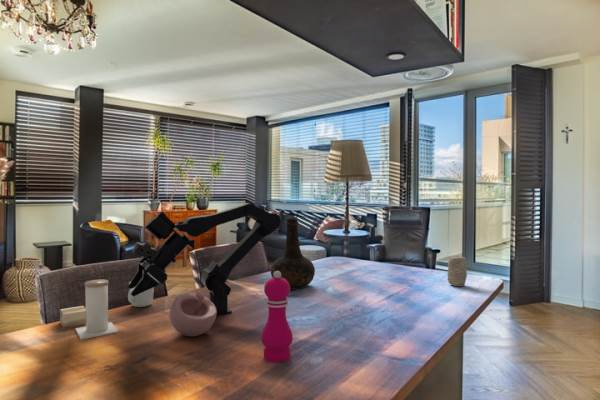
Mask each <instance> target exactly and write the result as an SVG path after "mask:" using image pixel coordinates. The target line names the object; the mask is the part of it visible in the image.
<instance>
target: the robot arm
mask: <svg viewBox="0 0 600 400" xmlns="http://www.w3.org/2000/svg"><path fill="white" fill-rule="evenodd" d="M245 217H249V218H251V220H252V221H255V222H254V224H253V226H252V228H251V230H250V231H249V232H248V233H247V234H245V236H243V238H242V239H241V240H240V241H239V242H238V243H237V244H236V245H235V246H234V247H233V248H232V249H231V250H230V251H229V252H228V253H227V254H226V255H225V256H224V258H223V259H221V260H219V261H218V262H215V261H214V260H213V261H211V262H209V264H208V266H206V267H205V268H204V269H202V270H203V273H202V274H201V276H200V277H201V278H200V279H201V283H202V285H203V286H204V287H205V288H206V289H207V290H208V291H209V292H208V293H209V294H208V295H209V296H208V297H209V298H208V299H209V300H210V301H211V302H212V303H213V304H214V305H215V307H216V310H217V314H216V317H217V316H221V315H226V314H231V313H232V312H233V310H231V309H229V307H228V305H229V304H228V303H229V302H228V300H229V299H228V296H229V295H230V294H231V291H232V289H231V287H230V286H229V285H228V284H227V283H226V282H227V280H228V279H229V276H230V274H231V272H232V270H233V269H234V268H235V267H236V266H237V265H238V264H239V263H240V262H241V261H242V259H244V258H245V256H246V255H248V254H249V253H250V252H251V250H252V249H253V248H254V247H255V246H256V245H257V244H258V243H259V242H260V241H261V240H262V239H263V238H265V237H268V236H269V235H271V234H272V233H274V232H275V231H276V230H278V229H279V228H280V226H281V223H282V221H281V218H280V216H279V214H277V213H275V212H269V211H267V210H264V209H263V208H260V207H258V206H256V205H255V204H254V203H250V202H244V203H243V204H241V205H237V206H234V207H231V208H227V209H224V210H222V211H217V212H215V213H211V214H205V215H195V216H188V217H186V218H185V219H184V220H183V221H178V222H177V221H175V222H173V221H172V220H171V219H170V218H169V217H168V216H167V214H166V213H165V212H164V211H160V212H159V213H158V214H156V215H155V216H154V217H152V218H150V219H149V221H148V222H147V223H146V224H145V225H144V229H145V230H147V232H149V233H150V234H151V235H152V236H153V237H154V238H156V239H157V240H158V241H160V240H161V239H162V240H163V241H164V242H163V243H162V244H161V245H157V246H156V247H155V248H154V247H152V245H151V244H148V243H147V242H145V243H141V242H138V241H136V242H135V244H134V247H133V249H132V251H131V253H132V254H133V255H135V256H140V258H139V259H138V262H137V271H136V273H135V274H134V276H133V278H132V279H131V281H130V282H129V283H130V284H129V283H128V285H127V288H128V289H129V290H130V289H132V288H134V287H135V288H134V290H133V291H132V293H131V295H132V296H136V295H138V294H140V293H142V292H144V291H146V290H149V289H151V288H153V287H154V288H155V287H158V286H160V285H163V284H164V283H165V282H166V281H167V280H168V273H166V272H167V270H166V269H167V268H168V267H169V266H170V265H172V263H173V264H175V262H176V261H177V259H176V258H177V257H178V256H179V255H180V254H182V252H183V251H184V250H185V249H186V248H187V247H189V248H190V249H192V250H194V249H196V248H195V239H193V237H194V238H195V237H199V236H201V235H203V234H206V233H207V232H208V231H209V232H210V230H212V229H213V228H215V227H217V226H220V225H221V226H222V225H223V224H226V223H229V222H233V221H235V220H236V221H237V220H239V219H242V218H245ZM176 230H177V231H179V232H183V233H182V234H179V233H178V232H177V231H176ZM185 234H187V235H188V236H190V237H192V239H190V238H188V236H187V235H185Z"/></svg>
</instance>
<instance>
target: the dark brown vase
mask: <svg viewBox="0 0 600 400" xmlns="http://www.w3.org/2000/svg"><path fill="white" fill-rule="evenodd" d="M298 220H299V219H298V218H297V217H288V218H286V222H284V225H286V237H285V238H286V239H285V248H284V253H283V255H282V256H281V257H278V258H277V259H275V260H274V262H273V263H272V265H271V268H270V274H271V278H274V275H273V274H274V272H275V271H279V272H280V273H281V278H284V279H286V280H287V281H288V283H289V285H290V290H299V289H302V288H303V289H304V288H305V287H308V286H309V285H310V284H311V283H312V281H313V280H314V277H315V274H316V272H315V271H316V269H315V265H314V263H313V262H312V261H311V260H310V259H309V258H307V257H305V256H304V255H303V254H302V251H301V247H300V240H299V230H298V228H299V227H298V224H299V221H298Z"/></svg>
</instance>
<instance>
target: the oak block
mask: <svg viewBox="0 0 600 400" xmlns="http://www.w3.org/2000/svg"><path fill="white" fill-rule="evenodd" d="M59 312H60V313H59V318H60V319H59V320H60V321H59V322H60V324H61V326H62V328H63V329H65V327H66V328H71V327H76V325H77V326H82V325H86V306H84V305H80V306H79V305H78V306H73V307H67V308H62V309H60V310H59ZM81 324H82V325H81Z"/></svg>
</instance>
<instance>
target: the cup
mask: <svg viewBox="0 0 600 400" xmlns="http://www.w3.org/2000/svg"><path fill="white" fill-rule="evenodd" d="M129 284H130V282H129V283H128V285H129ZM134 288H135V287H134ZM134 288H132V289H130V288H129V290H128V292H127V293H128V294H127V300H128V302H129V303H130V304H131V305H132V307H135V308H143V307H144V308H145V307H149V306H150V305H152V303H153V301H154V300H153V299H154V294H155V293H154V291H155V287H153V288H151V289H149V290H146V291H144V292H142V293H140V294H138V295H136V296H132V295H131V293H132V291H133V290H134Z"/></svg>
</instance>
